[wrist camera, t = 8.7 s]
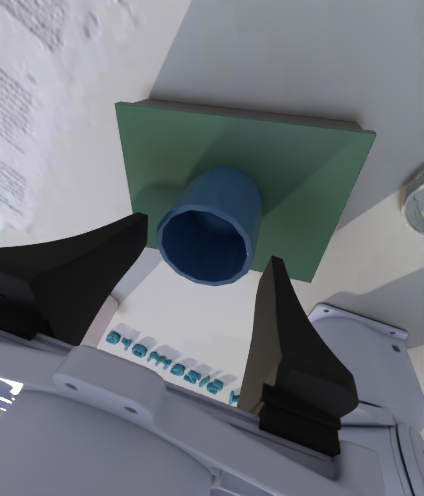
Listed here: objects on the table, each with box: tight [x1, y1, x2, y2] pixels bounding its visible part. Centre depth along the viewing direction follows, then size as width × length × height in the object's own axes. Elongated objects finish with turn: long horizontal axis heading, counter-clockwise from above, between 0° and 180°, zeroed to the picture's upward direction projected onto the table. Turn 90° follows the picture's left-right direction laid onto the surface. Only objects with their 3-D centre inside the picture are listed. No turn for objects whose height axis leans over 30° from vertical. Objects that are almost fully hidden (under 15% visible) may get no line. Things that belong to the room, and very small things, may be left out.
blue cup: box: [156, 167, 263, 286], centre depth 16 cm, size 6×6×6 cm
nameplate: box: [106, 332, 239, 405], centre depth 44 cm, size 37×1×5 cm
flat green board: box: [115, 99, 377, 283], centre depth 19 cm, size 15×11×4 cm
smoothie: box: [80, 295, 118, 348], centre depth 32 cm, size 6×6×14 cm
